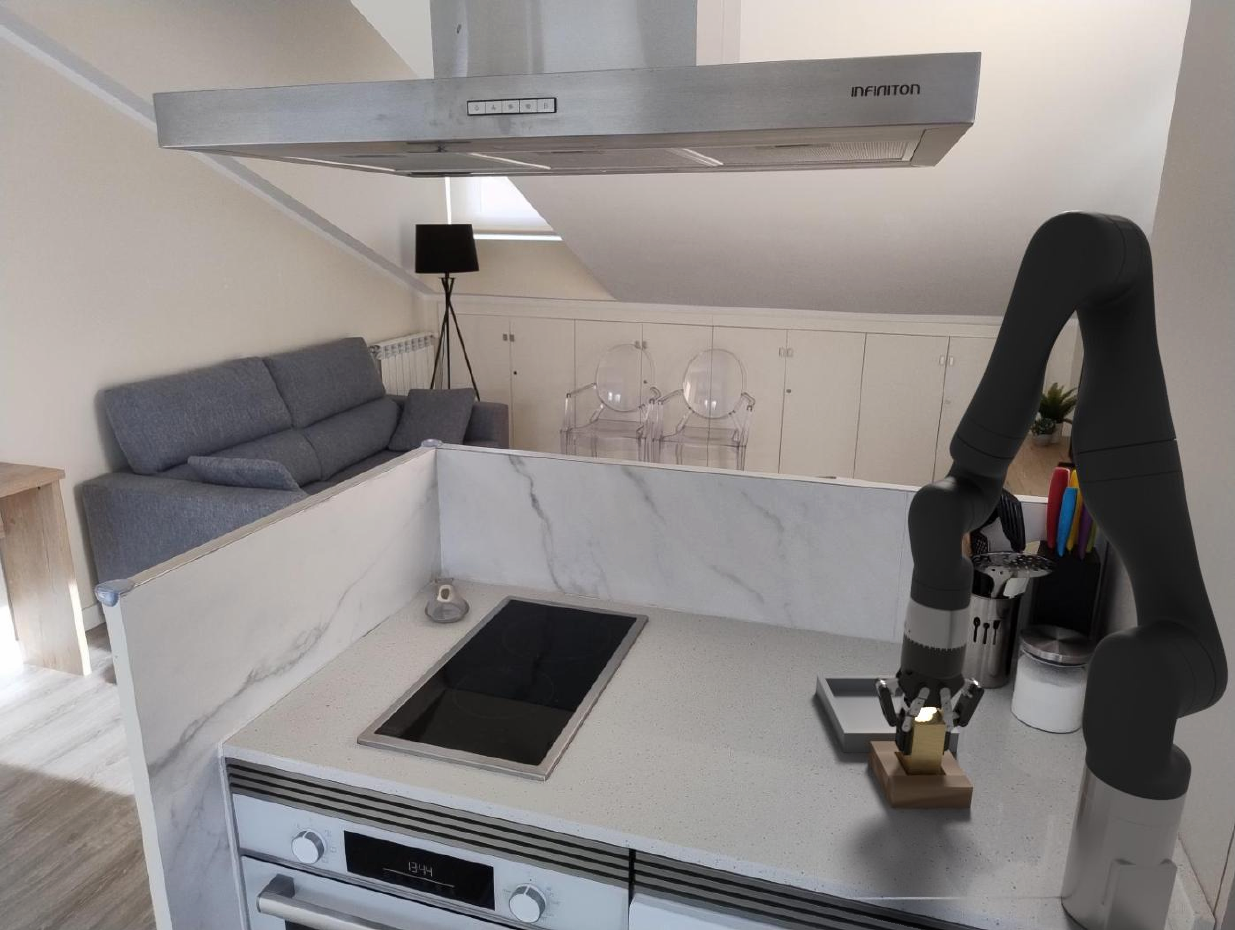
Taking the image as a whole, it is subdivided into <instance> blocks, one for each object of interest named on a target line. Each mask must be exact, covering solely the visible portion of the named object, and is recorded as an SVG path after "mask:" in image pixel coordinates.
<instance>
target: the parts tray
mask: <svg viewBox="0 0 1235 930" xmlns="http://www.w3.org/2000/svg"><path fill="white" fill-rule="evenodd" d="M895 675H896V674H895ZM895 675H894V674H892V675H891V674H885V675H884V674H825V675H824V674H817V675H816V683H815V684H816V685H815V694H816V696H817V698H818V700H819V702H820V705H821V707H822V710H823V712H824V714H825V716H826V718H827V720H828V722H829V724H830V725H829V726H830V727H831V729H832V731H833V733H834V736H835V737H836V740H837V742H838V745H839V747H840V749H841V751H842V753H869V751H870V741H895V734H896V726H895V727H891V726H889V724H888V722H887V721H886V719H885V717H884V715H883V713H882V709H881V706H880V702H879V698H878V695H877V691H876V687H875V684H874V680H875V679H876V678H879V677H880V678H882V679H883V680H887V679H890V678H894V677H895ZM902 695H903V691H902V690H901V688H900V687H897V688H896V690H895V695H894V697H893V698H892V702H893V706H894V709H895V713H898V710H899V708H900V705H901V704H900V701H901V698H902ZM926 708H933V707H926ZM959 737H960V732H959V730H958V729H957V727H954V729H953V730H952V731H951V736H950V743H949V751H950V752H951V753H957V752H958V743H959Z"/></svg>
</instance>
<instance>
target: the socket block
mask: <svg viewBox="0 0 1235 930" xmlns="http://www.w3.org/2000/svg"><path fill="white" fill-rule="evenodd" d="M868 762H869V765H870V767H871V769H872V771H873V773H874V775H875V777H876V779H877V781H878V783H879V784H880V787H881V789H882V790H883V792H884V795H885V797H886V798H887V801H888V803H889V805H890V807H891V809H892V808H894V809H897V808H899V809H902V808H905V809H908V808H909V809H912V808H913V809H914V808H915V809H917V808H918V809H921V808H922V809H925V808H927V809H929V808H930V809H933V808H935V809H936V808H937V809H938V808H940V809H941V808H944V809H945V808H950V809H951V808H952V809H953V808H955V809H957V808H958V809H959V808H961V809H962V808H971V807H972V806H971V805H972V799H973V792H974V786H973V785H972V783H971V781H970V780H969V778H968V777H967V775H966V774H965V772H964V771H963V769H962V768H961V766H960V765H959V763H958V761H957V760H956V758H955V757H954V756H953V754H952V752H950V751H949V749H948V750H947V751H944V755H943V756H942V763H941V770H940V775H906V773H905V771H904V770H903V768H902V766H901V764H900V762H899V750H898V748H897V746H896V744H895V741H870V751H869V752H868Z"/></svg>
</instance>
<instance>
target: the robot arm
mask: <svg viewBox="0 0 1235 930" xmlns="http://www.w3.org/2000/svg"><path fill="white" fill-rule="evenodd" d="M1151 250H1152V249H1151V247H1150V243H1149V240H1148V238H1147V235H1146V234H1145V232H1144V231H1143V230H1142V229H1141V227H1140V226H1139V225H1138V224H1137V223H1135V221H1133V220H1131V219H1129V218H1127V217H1125V216H1122V215H1118V214H1111V213H1108V212H1107V213H1106V212H1098V211H1091V210H1081V209H1075V210H1073V209H1072V210H1067V211H1062V212H1060V213H1057V214H1055V215H1052V216H1051V217H1050V218H1047V220H1045V221H1044V222H1043V223H1042V224H1041V225H1040V226H1039V227H1038V228H1037V229H1036V231H1035V232H1034V234H1033V236H1032V237H1031V239H1030V241H1029V243H1028V245H1027V247H1026V249H1025V252H1024V254H1023V256H1022V260H1021V263H1020V266H1019V268H1018V272H1017V274H1016V278H1015V281H1014V284H1013V288H1012V292H1011V295H1010V298H1009V301H1008V305H1007V307H1006V309H1005V311H1004V312H1005V313H1004V316H1003V319H1002V321H1001V325H1000V328H999V331H998V334H997V336H996V340H995V343H994V345H993V348H992V352H991V354H990V357H989V360H988V363H987V366H986V367H985V370H984V373H983V375H982V376H981V380H980V381H979V384H978V386H977V388H976V390H975V392H974V394H973V395H972V398H971V400H970V402H969V404H968V406H967V407H966V410H965V412H963V413H964V414H963V415H962V417H961V419H960V422H958V423H959V424H958V425H957V427H956V429H955V431H954V433H953V436H952V438H951V441H950V443H949V450H948V451H949V455H950V457H951V458H952V460H953V461H952V464H951V466H950V468H949V471H948V472H947V474H946V475H945V477H944V478H942V479H940V480H937V481H933V482H931V483H928V484H926V485H924V486H921V488H919V489H918V490H917V491H916V492H915V494H914V495H913V498H912V499H911V502H910V505H909V509H908V512H907V513H908V514H907V528H908V537H909V544H910V545H909V546H910V552H911V556H912V562H913V567H912V572H911V573H912V574H911V575H912V576H911V583H910V584H911V585H910V592H909V598H908V599H909V600H908V602H907V605H906V611H905V617H904V621H903V628H904V629H903V635H902V636H903V637H902V644H901V645H902V646H901V651H900V652H901V653H900V665H899V666H900V667H899V668H898V670H897V672H896V673H895V677H894V678H890V679H887V680H883V679H882V678H880V677H879V678H876V679H875V680H874V684H875V687H876V691H877V695H878V698H879V702H880V706H881V709H882V713H883V715H884V717H885V719H886V721H887V722H888V724H889V726H891V727H895V726H896V734H895V744H896V746H897V748H898V750H899V751H901V753H902V755H909V747H910V739H911V730H910V729H911V727H912V724H913V721H914V720H915V718H916V717H918V716H919V714H920V711H921V709H922V708H926V707H933V708H936V711H937V713H939V714H940V716H941V717H942V720H943V721H944V722H945V723H946V732H945V740H944V747H943V755H944V751H947V750H948V749H949V743H950V736H951V731H952V730H953V729H954V727H955V728H957V727H960V728H966V727H967V726H968V725H969V723H970V721H971V719H972V717H973V715H974V713H975V711H976V710H977V708H978V706H979V703H980V702H981V700H982V698H983V696H984V694H985V693H986V692H985V691H986V690H985V689H984V687H983V686H982V685H981V683H980V682H979V681H978V680H977V678H975V677H971V678H969V679H968V678H965V677H964V674H963V671H964V667H965V663H966V662H965V661H966V655H967V654H966V652H967V647H968V646H967V645H968V639H969V638H968V637H969V630H970V623H971V622H970V621H971V614H970V613H971V611H970V607H971V600H972V592H973V585H974V584H973V583H974V565H973V562H972V560H971V558H970V557H968V556H967V555H966V554H964V553H963V539H964V535H966V534H969V533H970V532H973V531H975V530H977V529H978V528H980V527H981V526H983V525H984V524H985V523H986V521H987V520H989V517H991V515H992V514H993V512H994V511H995V508H996V507H997V505H998V503H999V499H1000V497H1001V494H1002V491H1003V488H1004V484H1005V482H1006V479H1007V474H1008V471H1009V470H1008V469H1009V467H1010V465H1011V464H1012V463H1013V462H1014V459H1015V458H1016V456H1017V454H1018V453H1019V450H1020V449H1021V447H1022V445H1023V444H1024V442H1025V440H1026V438H1027V437H1028V435H1029V433H1030V431H1031V429H1032V426H1033V425H1034V423H1035V421H1036V418H1037V416H1038V413H1039V409H1040V406H1041V402H1042V399H1043V393H1044V385H1045V377H1046V372H1047V368H1048V363H1049V359H1050V356H1051V353H1052V350H1053V348H1054V345H1055V344H1056V342H1057V339H1058V337H1059V335H1060V334H1061V333H1062V331H1063V329H1064V327H1065V326H1066V324H1067V323H1068V321H1069V320H1070V318H1071V317H1072V316H1073V314H1074V313H1076V317H1077V321H1078V325H1079V326H1078V327H1079V330H1080V335H1081V340H1082V347H1083V368H1082V369H1083V371H1082V376H1081V381H1080V386H1079V389H1078V393H1077V398H1076V402H1075V407H1074V411H1073V412H1074V413H1073V416H1072V423H1071V424H1072V425H1071V449H1072V455H1073V461H1074V468H1075V472H1076V478H1077V484H1078V488H1079V492H1080V496H1081V499H1082V502H1083V504H1084V507H1085V509H1086V510H1087V512H1088V514H1089V516H1090V517H1091V519H1092V521H1093V522H1094V523H1095V525H1096V527H1097V528H1098V529H1099V531H1100V532H1101V533H1102V534H1103V536H1104V537H1105V539H1106V540H1107V541H1108V543H1109V544H1110V546H1111V547H1112V548H1113V550H1114V552H1116V554H1117V555H1118V557H1119V558H1120V561H1121V562H1122V564H1123V566H1124V568H1125V571H1126V573H1127V575H1128V577H1129V582H1130V586H1131V588H1132V593H1133V594H1132V595H1133V599H1134V600H1133V601H1134V605H1135V610H1136V611H1135V613H1136V621H1137V622H1136V624H1137V626H1133V627H1131V628H1126V629H1122V630H1118V631H1114V632H1113V633H1110V634H1107V635H1106V636H1104V638H1102V639H1101V640H1100V641H1099V642H1098V644H1097V645H1096V647H1095V648H1094V650H1093V652H1092V655H1091V658H1090V662H1089V667H1088V670H1087V671H1088V672H1087V677H1086V684H1085V685H1086V686H1085V695H1084V703H1083V713H1082V720H1081V721H1082V722H1081V724H1082V725H1081V727H1082V734H1083V735H1082V736H1083V739H1084V743H1085V746H1086V747H1085V748H1086V750H1085V757H1084V763H1083V767H1082V771H1081V772H1082V773H1081V779H1080V782H1079V783H1080V784H1079V789H1078V794H1077V801H1076V806H1075V813H1074V816H1073V823H1072V828H1071V833H1070V839H1069V844H1068V851H1067V855H1066V861H1065V867H1064V868H1065V869H1064V874H1063V879H1062V884H1061V890H1060V900H1061V903H1062V904H1063V907H1064V909H1065V910H1066V912H1067V913H1068V914H1069V916H1071V918H1073V920H1075V922H1077V923H1078V924H1080V925H1081V926H1082V927H1083V928H1085V929H1087V930H1165V927H1166V921H1167V917H1168V912H1169V909H1170V904H1171V899H1172V895H1173V891H1174V886H1175V882H1176V877H1177V873H1178V866H1177V864H1176V863H1175V862H1174V860H1173V857H1174V853H1175V848H1176V845H1177V844H1176V843H1177V839H1178V835H1179V830H1180V825H1181V820H1182V818H1183V817H1182V816H1183V814H1184V813H1183V812H1184V808H1185V803H1186V798H1187V794H1188V790H1189V785H1190V782H1191V776H1192V764H1191V760H1190V759H1189V757H1188V755H1187V754H1186V753H1185V751H1184V750H1183V749H1182V748H1180V746H1178V745H1176V744H1175V743H1174V737H1175V732H1176V726H1177V721H1178V719H1182V718H1184V717H1187V716H1190V715H1191V716H1192V715H1194V714H1197V713H1200V712H1202V711H1204V710H1207V709H1209V708H1211V707H1213V706H1214V705H1216V704H1217V703H1218V702H1219V701H1220V700H1221V699H1222V697H1223V696H1224V694H1225V692H1226V690H1227V686H1228V683H1229V668H1228V661H1227V656H1226V652H1225V648H1224V643H1223V640H1222V636H1221V634H1220V630H1219V627H1218V624H1217V622H1216V617H1215V615H1214V610H1213V607H1212V605H1211V604H1212V603H1211V601H1210V598H1209V594H1208V593H1207V589H1206V584H1205V581H1204V577H1203V574H1202V569H1201V566H1200V561H1199V560H1200V559H1199V557H1198V552H1197V545H1196V540H1195V539H1196V538H1195V534H1194V530H1193V529H1194V528H1193V524H1192V521H1191V516H1190V512H1189V506H1188V501H1187V496H1186V495H1187V494H1186V488H1185V487H1186V486H1185V480H1184V478H1185V477H1184V473H1183V467H1182V461H1181V456H1180V450H1179V445H1178V440H1177V433H1176V429H1175V425H1174V421H1173V420H1174V419H1173V416H1172V413H1171V406H1170V401H1169V395H1168V389H1167V382H1166V378H1165V372H1164V367H1163V363H1162V358H1161V357H1162V356H1161V353H1160V348H1159V340H1158V334H1157V333H1158V332H1157V331H1158V330H1157V319H1156V305H1155V304H1156V303H1155V286H1154V284H1155V283H1154V268H1153V267H1154V266H1153V257H1152V251H1151ZM897 687H900V688H901V690H902V691H903V695H902V698H901V701H900V704H901V705H900V708H899V710H898V713H895V709H894V706H893V702H892V698H893V697H894V695H895V690H896V688H897ZM960 691H961V693H960V695H959V698H958V699H957V701H956V703H955V705H954V707H952V705H953V704H952V699H953V698H954V697H956V695H957V694H958V693H959V692H960ZM943 755H942V756H943Z"/></svg>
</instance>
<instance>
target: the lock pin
mask: <svg viewBox="0 0 1235 930" xmlns="http://www.w3.org/2000/svg"><path fill="white" fill-rule="evenodd" d="M910 730H911V739H910V747H909V755H902V753H901V751H899V762H900V764H901V766H902V768H903V770H904V771H905V773H906V775H940V770H941V763H942V755H943V747H944V740H945V732H946V723H945V722H944V721H943V720H942V717H941V716H940V714H939V713H937V711H936V708H922V709H921V711H920V714H919V716H918V717H916V718H915V720H914V721H913V724H912V727H911V729H910Z"/></svg>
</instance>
